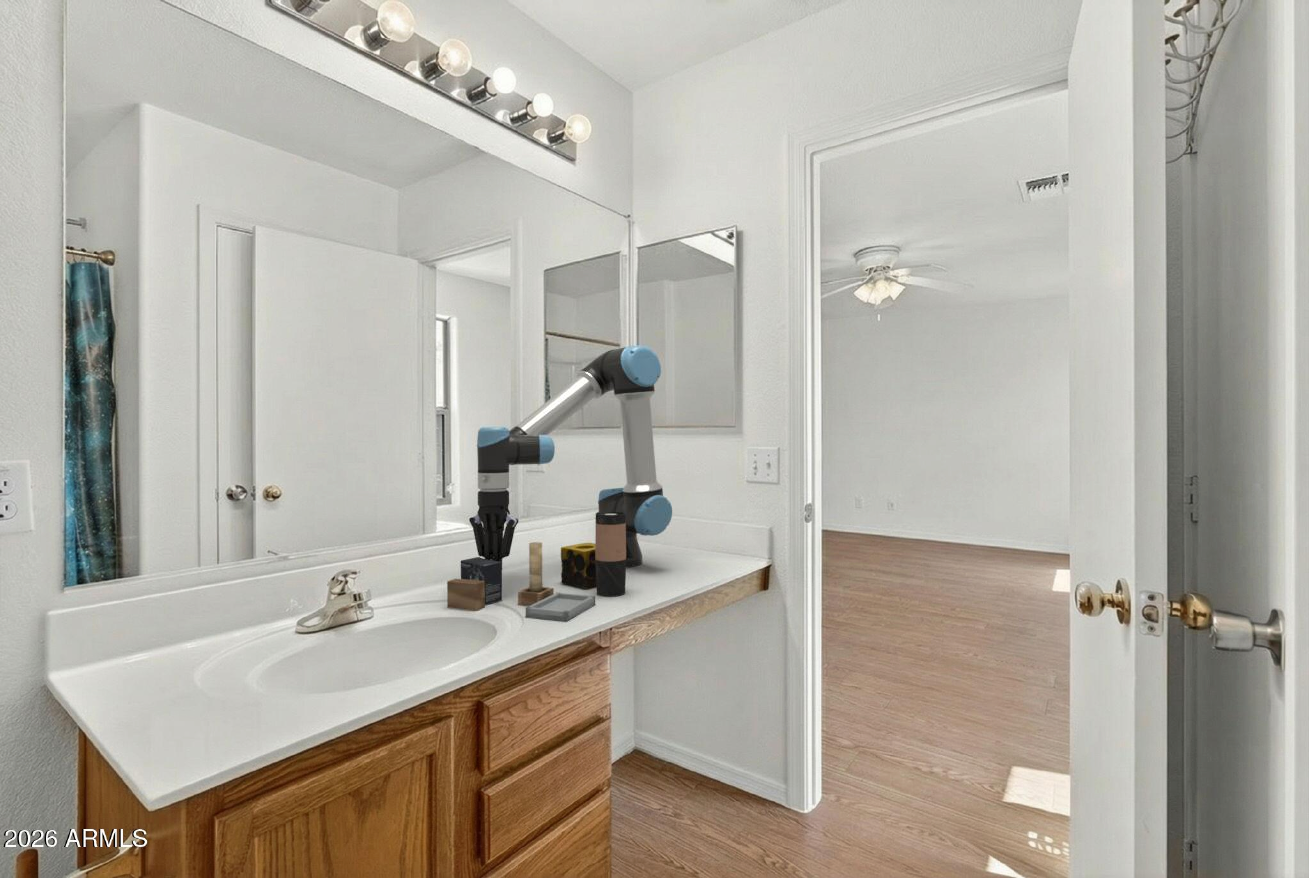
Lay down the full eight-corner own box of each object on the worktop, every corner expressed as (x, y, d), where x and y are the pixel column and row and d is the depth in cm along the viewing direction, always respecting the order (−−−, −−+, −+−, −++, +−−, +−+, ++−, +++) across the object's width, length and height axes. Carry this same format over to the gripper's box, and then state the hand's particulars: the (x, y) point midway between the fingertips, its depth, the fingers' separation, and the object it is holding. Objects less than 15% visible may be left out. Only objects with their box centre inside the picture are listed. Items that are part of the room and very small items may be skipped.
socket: (531, 598, 152) (531, 585, 152) (553, 600, 150) (553, 587, 150) (518, 604, 147) (518, 591, 147) (540, 606, 144) (540, 593, 144)
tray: (557, 600, 150) (557, 592, 150) (595, 604, 146) (595, 596, 146) (525, 617, 137) (525, 607, 137) (566, 621, 133) (566, 612, 133)
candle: (614, 583, 167) (614, 546, 167) (585, 590, 160) (585, 551, 160) (589, 577, 174) (589, 541, 174) (560, 584, 167) (560, 546, 167)
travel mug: (621, 597, 152) (621, 515, 152) (591, 596, 154) (591, 514, 154) (629, 590, 160) (629, 511, 160) (600, 588, 161) (600, 510, 161)
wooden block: (455, 604, 147) (455, 578, 147) (484, 607, 144) (484, 581, 144) (447, 607, 144) (447, 581, 144) (476, 610, 142) (476, 584, 142)
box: (459, 599, 152) (459, 560, 152) (479, 594, 156) (478, 556, 156) (483, 605, 146) (483, 564, 146) (503, 600, 150) (502, 561, 150)
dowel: (533, 600, 150) (533, 541, 150) (544, 601, 149) (544, 542, 149) (527, 603, 147) (526, 544, 147) (538, 604, 146) (537, 544, 146)
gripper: (461, 490, 153) (462, 586, 154) (507, 491, 149) (508, 591, 149) (480, 487, 160) (481, 580, 161) (524, 489, 156) (525, 584, 156)
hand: (494, 585), depth 155 cm, fingers closed
